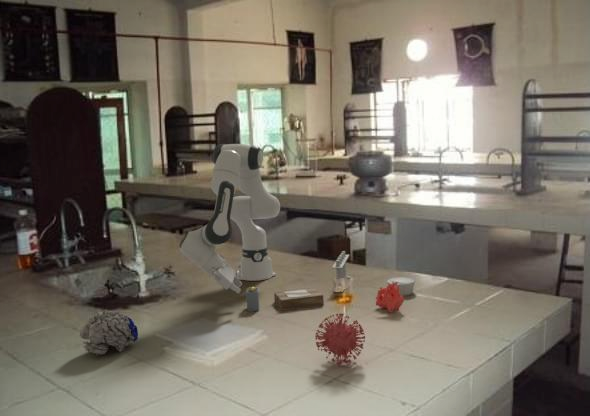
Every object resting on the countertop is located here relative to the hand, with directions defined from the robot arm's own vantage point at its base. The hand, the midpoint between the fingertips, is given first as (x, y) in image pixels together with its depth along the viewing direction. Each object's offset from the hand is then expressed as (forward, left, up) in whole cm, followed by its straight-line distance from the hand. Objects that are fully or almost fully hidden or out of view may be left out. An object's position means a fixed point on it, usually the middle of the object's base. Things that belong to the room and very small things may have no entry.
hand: (240, 288), depth 246 cm
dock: (+2, +23, -8) cm, 25 cm away
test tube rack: (-17, +48, -9) cm, 52 cm away
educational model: (+27, -50, -9) cm, 57 cm away
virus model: (+66, +17, -9) cm, 69 cm away
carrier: (+1, +4, -8) cm, 10 cm away
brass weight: (+1, +4, -1) cm, 5 cm away
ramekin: (+5, +66, -9) cm, 67 cm away
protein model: (+24, +52, -9) cm, 58 cm away
